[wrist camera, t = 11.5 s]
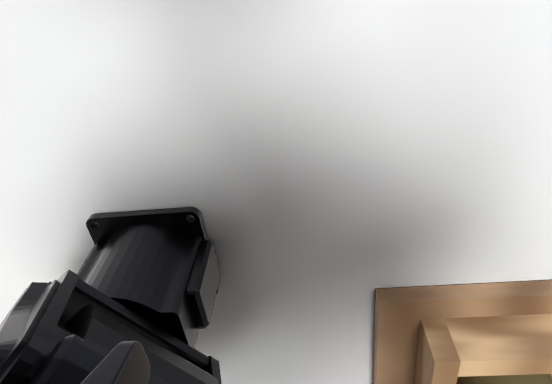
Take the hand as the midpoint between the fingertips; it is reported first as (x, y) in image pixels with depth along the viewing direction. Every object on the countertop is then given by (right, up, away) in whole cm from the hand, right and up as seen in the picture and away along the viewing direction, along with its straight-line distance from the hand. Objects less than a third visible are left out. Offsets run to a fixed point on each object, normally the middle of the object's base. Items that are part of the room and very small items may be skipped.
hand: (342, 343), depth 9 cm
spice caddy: (+14, -8, +20) cm, 26 cm away
